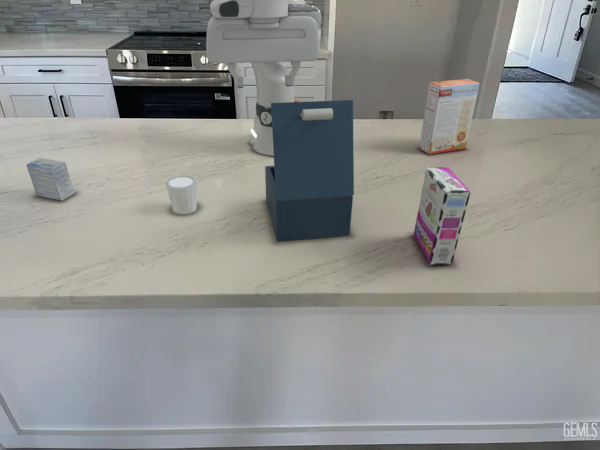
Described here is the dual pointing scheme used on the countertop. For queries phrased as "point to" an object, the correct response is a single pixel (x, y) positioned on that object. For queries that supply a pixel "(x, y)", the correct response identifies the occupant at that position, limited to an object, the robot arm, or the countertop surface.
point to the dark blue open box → (307, 214)
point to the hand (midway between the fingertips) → (264, 86)
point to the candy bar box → (440, 215)
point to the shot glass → (182, 194)
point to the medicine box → (50, 178)
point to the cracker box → (448, 115)
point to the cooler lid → (313, 149)
